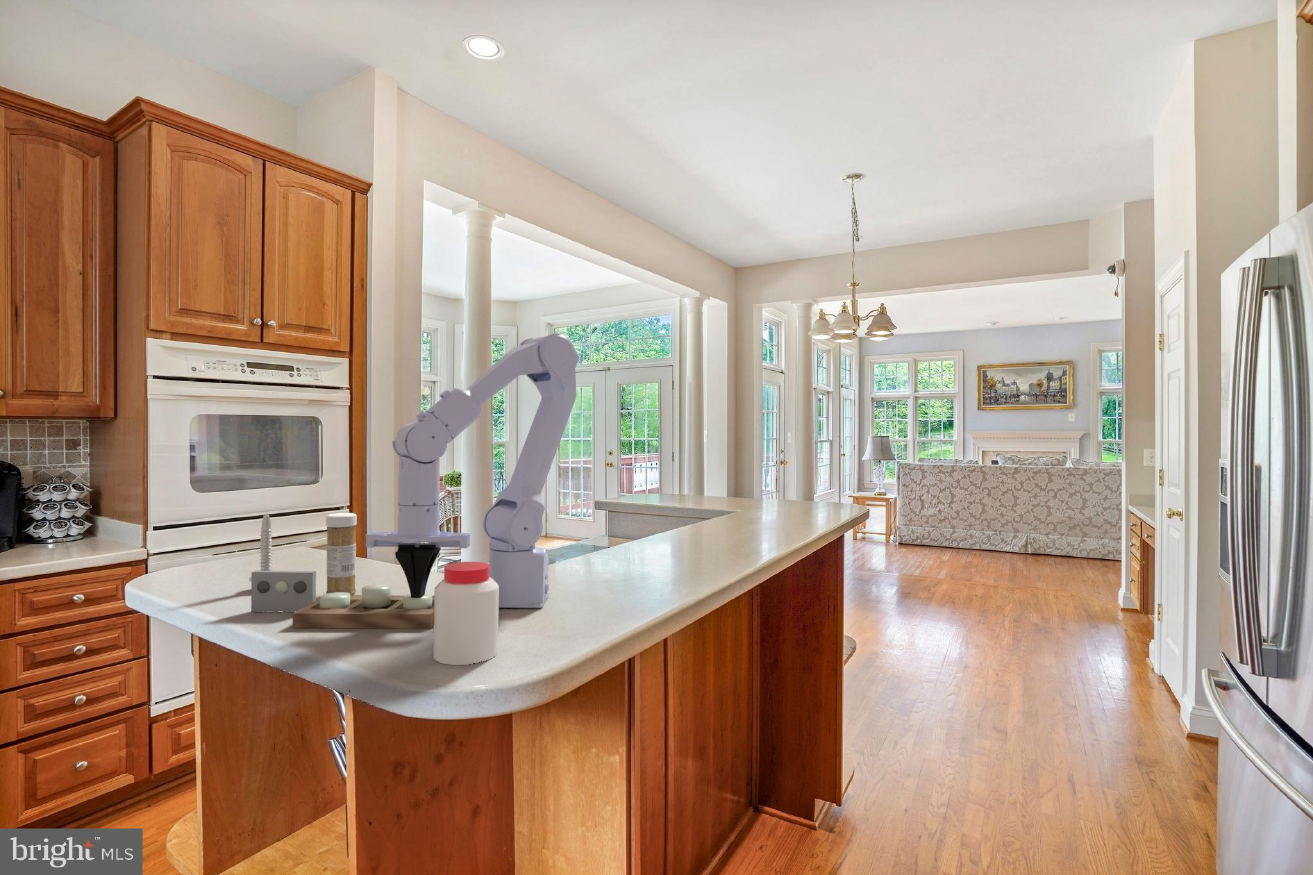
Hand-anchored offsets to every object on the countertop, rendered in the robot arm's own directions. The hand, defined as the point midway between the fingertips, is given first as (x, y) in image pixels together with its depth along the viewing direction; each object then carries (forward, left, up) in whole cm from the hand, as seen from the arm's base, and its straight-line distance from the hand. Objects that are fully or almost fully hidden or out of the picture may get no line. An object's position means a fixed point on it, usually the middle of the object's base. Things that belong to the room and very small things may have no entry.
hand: (418, 596), depth 95 cm
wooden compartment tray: (+6, 0, -3) cm, 7 cm away
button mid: (+6, 0, -1) cm, 6 cm away
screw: (+31, -16, -3) cm, 35 cm away
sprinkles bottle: (+17, -13, -3) cm, 22 cm away
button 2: (0, 0, -2) cm, 2 cm away
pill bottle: (-11, +15, -3) cm, 19 cm away
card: (+21, -3, -3) cm, 21 cm away
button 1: (+12, 0, -2) cm, 12 cm away
